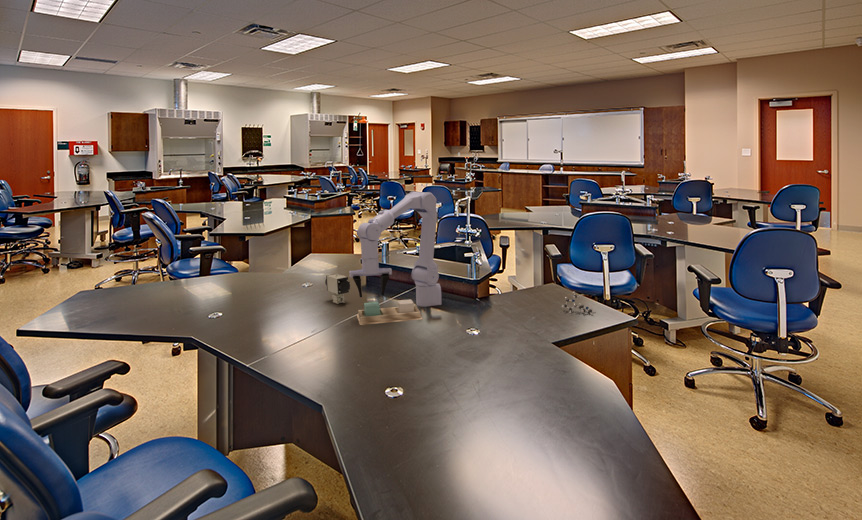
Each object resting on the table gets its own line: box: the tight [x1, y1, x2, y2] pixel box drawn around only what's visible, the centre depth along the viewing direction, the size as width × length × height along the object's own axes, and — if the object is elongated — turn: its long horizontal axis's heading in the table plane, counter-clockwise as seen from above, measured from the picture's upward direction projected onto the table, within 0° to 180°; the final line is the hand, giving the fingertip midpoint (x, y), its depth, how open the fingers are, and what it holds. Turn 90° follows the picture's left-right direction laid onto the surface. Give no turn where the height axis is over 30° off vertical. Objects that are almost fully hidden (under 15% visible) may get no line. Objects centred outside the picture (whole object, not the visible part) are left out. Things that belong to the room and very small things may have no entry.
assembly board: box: [356, 304, 424, 326], centre depth 178 cm, size 22×12×3 cm, turn 103°
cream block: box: [396, 299, 415, 314], centre depth 179 cm, size 5×5×5 cm
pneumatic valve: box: [324, 273, 351, 305], centre depth 200 cm, size 6×12×12 cm, turn 41°
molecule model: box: [561, 291, 596, 316], centre depth 181 cm, size 6×12×8 cm, turn 73°
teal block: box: [363, 301, 381, 317], centre depth 176 cm, size 5×5×5 cm
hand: (371, 295), depth 175 cm, fingers open, 7 cm apart
